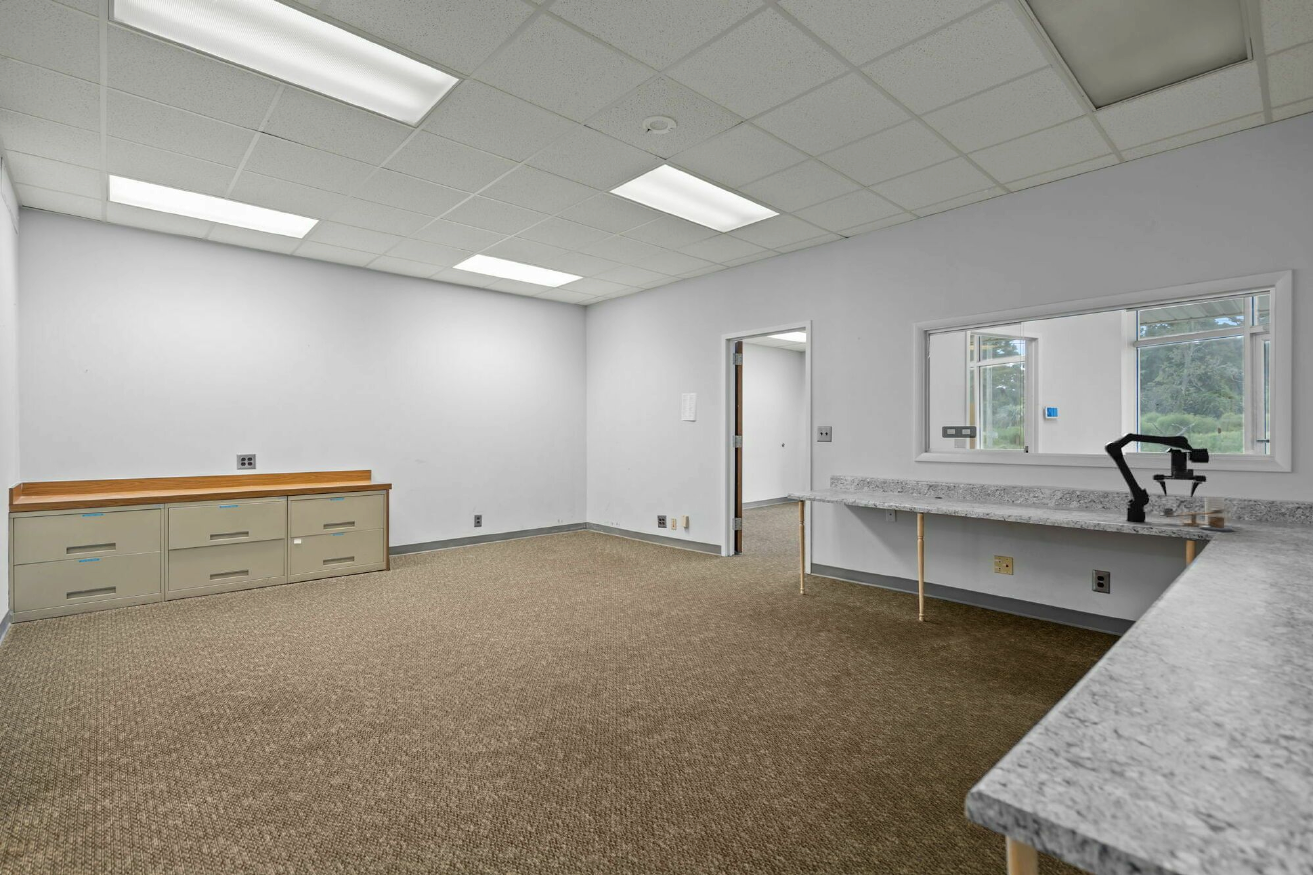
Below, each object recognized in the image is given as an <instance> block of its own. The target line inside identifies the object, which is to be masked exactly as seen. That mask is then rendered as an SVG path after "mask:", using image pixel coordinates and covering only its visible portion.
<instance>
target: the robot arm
mask: <svg viewBox="0 0 1313 875" xmlns="http://www.w3.org/2000/svg"><path fill="white" fill-rule="evenodd" d="M1131 442H1135V443H1136V442H1137V443H1147V444H1149V443H1150V444H1157V445H1164V446H1167V447H1169V448H1168V449H1167V450H1165V453H1166V454H1167V453H1168V454H1170V475H1165V473H1153V474H1152V480H1153V481H1155V482H1157V483H1159V485H1160V487H1161V489H1162V491H1163V494H1164V497H1167V495H1168V494H1167V493H1168V492H1167V487H1166V480H1171V481H1172V480H1173V481H1174V480H1176V481H1177V480H1178V481H1179V480H1181V481H1183V480H1184V481H1192V482H1191V488H1190V498H1193V496H1194V495H1195V492H1196V489H1197V488H1198V486H1199V485H1202V484H1203V483H1206V482H1207V476H1206V475H1203V474H1194V469H1193V468H1188V461H1189V462H1191V463H1192V464H1209V462H1210V461H1209V460H1210V455H1209V452H1208V451H1209V450H1208V448H1203V447H1202V448H1193V446H1192V445H1190V443H1189V440H1188V438H1187V437H1186V436H1185V435H1165V436H1164V435H1163V436H1162V435H1161V436H1160V435H1149V434H1141V433H1140V434H1137V433H1132V432H1127V433H1125V434H1124V435H1123V436H1121V437H1119V438H1117V439H1116V440H1114V441H1110V442H1107V443H1106V444H1105V445H1104V449H1103V450H1104V451H1105V453H1107V455H1108V456H1109V457H1110V458H1111V459H1112V460H1113V461H1114V462H1115V465H1116V467H1117V469H1118V471H1119V472H1120V474H1121V476H1122V478H1123V480H1124V481H1125V483H1126V485H1127V487H1128V489H1129V493H1130V497H1131V499H1130V500H1128V501H1127V502H1126V506H1127V507H1126V521H1127V522H1136V523H1137V522H1140V523H1145V521H1146V511H1145V508H1144V507H1145V506H1147V505H1148V504H1149V502H1150V497H1151V495H1149V494H1148V492H1147V488H1146V487H1141V486H1140V485H1139V484H1138V482H1137V480H1136V478H1135V476H1134V474H1133V473H1132V471H1131V470H1130V468H1129V466H1128V464H1127V462H1126V460H1125V457H1124V455H1123V454H1124V453H1123V450H1122V449H1123V448H1124V447H1125V446H1127V445H1128V444H1130V443H1131ZM1173 448H1176V449H1173ZM1181 449H1182V450H1181Z"/></svg>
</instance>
